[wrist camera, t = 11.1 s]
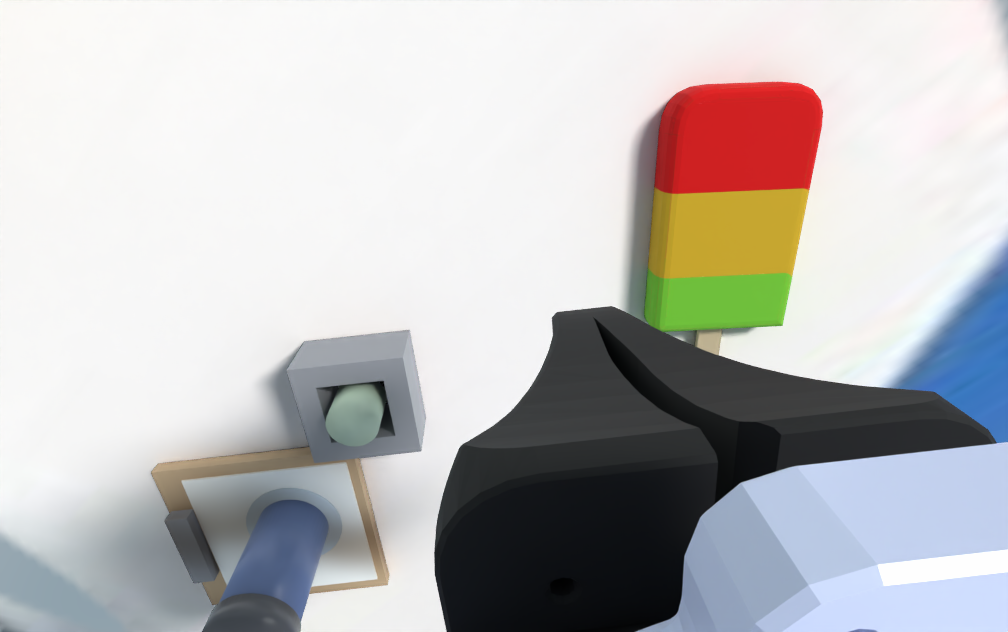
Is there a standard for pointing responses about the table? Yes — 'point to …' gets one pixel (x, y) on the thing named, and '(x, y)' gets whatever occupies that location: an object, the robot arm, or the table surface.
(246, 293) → the table surface
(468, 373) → the table surface
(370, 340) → the button housing
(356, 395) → the button
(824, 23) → the table surface
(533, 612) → the robot arm
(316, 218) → the table surface
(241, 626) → the blue small bottle
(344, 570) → the clipboard
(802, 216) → the popsicle
